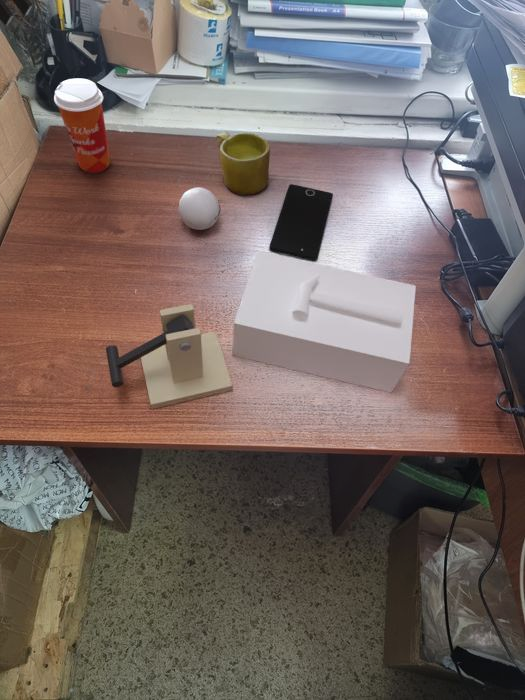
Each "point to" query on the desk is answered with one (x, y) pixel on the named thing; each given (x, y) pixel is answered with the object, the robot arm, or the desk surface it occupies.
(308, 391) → the desk surface
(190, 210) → the white sphere
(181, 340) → the lever base
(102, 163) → the coffee cup
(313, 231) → the cell phone
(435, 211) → the desk surface
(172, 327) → the black lever
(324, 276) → the hammer on box
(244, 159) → the mug
